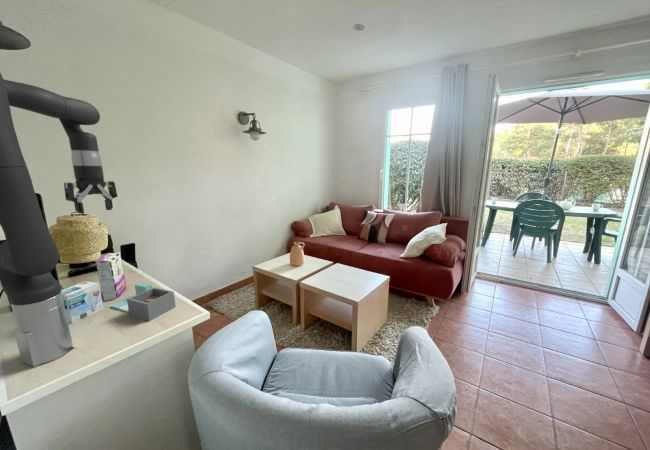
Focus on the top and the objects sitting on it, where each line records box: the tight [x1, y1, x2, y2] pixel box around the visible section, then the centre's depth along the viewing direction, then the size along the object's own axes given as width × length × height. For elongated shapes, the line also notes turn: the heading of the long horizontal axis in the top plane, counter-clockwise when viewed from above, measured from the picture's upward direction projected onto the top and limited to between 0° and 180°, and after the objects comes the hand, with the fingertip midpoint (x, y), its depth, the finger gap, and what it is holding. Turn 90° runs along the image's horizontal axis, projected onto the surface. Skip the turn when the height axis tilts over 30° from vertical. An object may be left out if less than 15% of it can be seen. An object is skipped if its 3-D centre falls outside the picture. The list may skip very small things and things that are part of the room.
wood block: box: [145, 296, 159, 303], centre depth 97 cm, size 4×4×4 cm
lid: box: [110, 282, 153, 313], centre depth 100 cm, size 11×10×7 cm
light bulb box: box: [61, 281, 104, 325], centre depth 91 cm, size 11×7×11 cm, turn 168°
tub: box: [126, 286, 176, 322], centre depth 94 cm, size 10×10×7 cm
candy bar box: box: [95, 252, 127, 302], centre depth 107 cm, size 11×5×16 cm, turn 22°
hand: (95, 211), depth 93 cm, fingers open, 8 cm apart
